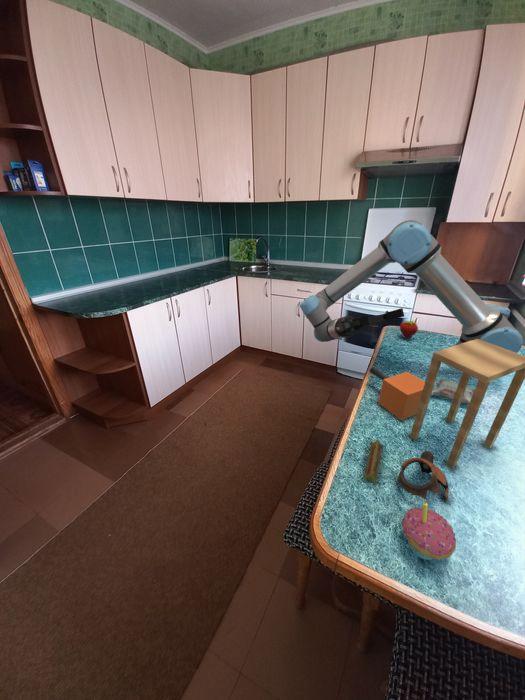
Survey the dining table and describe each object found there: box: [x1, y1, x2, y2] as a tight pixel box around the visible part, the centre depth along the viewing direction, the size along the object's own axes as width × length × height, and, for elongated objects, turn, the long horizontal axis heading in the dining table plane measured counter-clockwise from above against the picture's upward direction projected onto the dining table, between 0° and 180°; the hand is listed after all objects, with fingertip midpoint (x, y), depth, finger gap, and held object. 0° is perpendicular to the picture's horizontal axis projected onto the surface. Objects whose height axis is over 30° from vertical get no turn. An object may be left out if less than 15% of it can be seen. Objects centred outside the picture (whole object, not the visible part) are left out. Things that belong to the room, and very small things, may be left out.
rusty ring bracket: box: [398, 450, 450, 502], centre depth 64 cm, size 12×9×8 cm
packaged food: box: [432, 378, 475, 406], centre depth 92 cm, size 9×12×5 cm
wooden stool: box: [409, 339, 525, 470], centre depth 71 cm, size 16×12×26 cm
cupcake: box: [401, 499, 457, 561], centre depth 51 cm, size 9×8×12 cm
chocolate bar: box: [363, 439, 383, 484], centre depth 71 cm, size 3×12×2 cm, turn 154°
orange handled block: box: [369, 366, 425, 421], centre depth 92 cm, size 10×19×9 cm, turn 25°
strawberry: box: [399, 320, 419, 340], centre depth 131 cm, size 6×8×10 cm
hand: (386, 316), depth 87 cm, fingers open, 13 cm apart
